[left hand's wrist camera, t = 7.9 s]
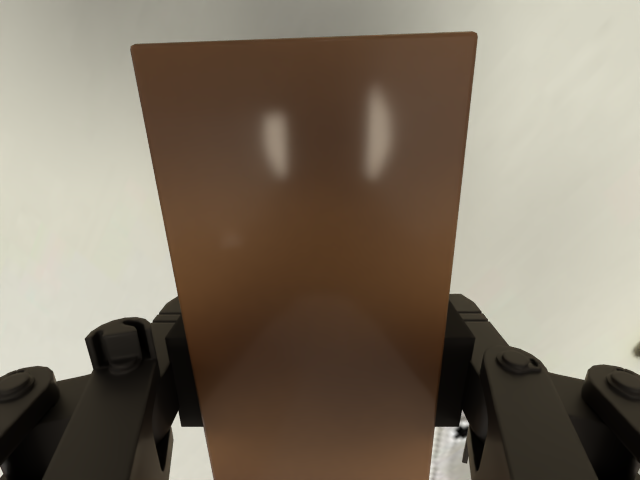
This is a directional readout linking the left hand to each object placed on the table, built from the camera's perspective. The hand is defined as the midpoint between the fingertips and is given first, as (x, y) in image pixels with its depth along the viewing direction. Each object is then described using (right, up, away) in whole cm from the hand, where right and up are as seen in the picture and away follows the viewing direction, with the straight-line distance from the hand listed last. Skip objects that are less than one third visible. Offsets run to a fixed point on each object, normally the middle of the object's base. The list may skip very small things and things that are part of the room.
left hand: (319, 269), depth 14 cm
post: (+1, -30, +12) cm, 32 cm away
